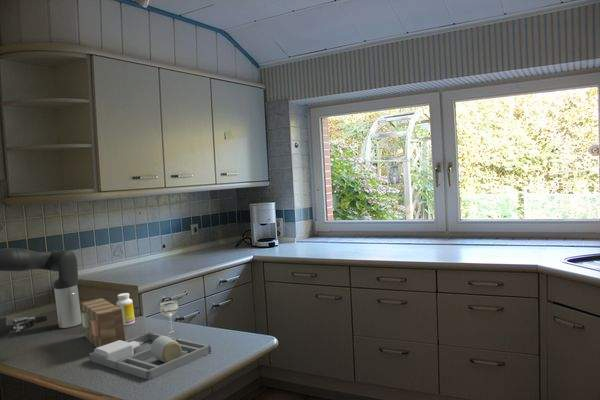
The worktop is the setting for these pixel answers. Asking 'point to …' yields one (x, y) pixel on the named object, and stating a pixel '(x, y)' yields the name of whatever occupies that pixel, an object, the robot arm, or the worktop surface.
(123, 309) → the supplement bottle
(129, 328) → the worktop surface
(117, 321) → the panel
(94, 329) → the button terracotta
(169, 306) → the wineglass
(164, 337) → the ceramic mug
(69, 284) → the robot arm
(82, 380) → the worktop surface
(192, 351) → the counter rail frame
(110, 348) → the charger
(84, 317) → the button sage
